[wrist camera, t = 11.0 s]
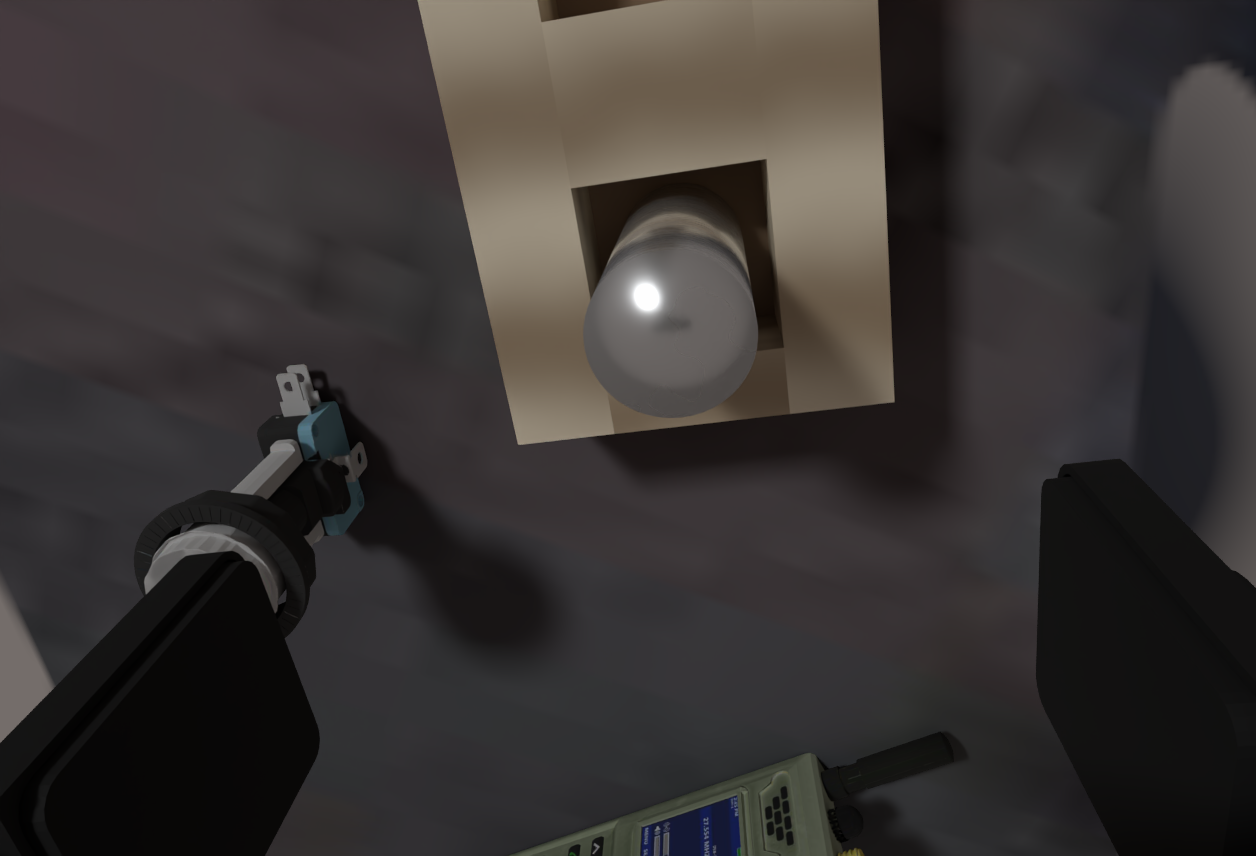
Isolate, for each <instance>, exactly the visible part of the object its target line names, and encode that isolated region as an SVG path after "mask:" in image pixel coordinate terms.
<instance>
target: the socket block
mask: <svg viewBox="0 0 1256 856" xmlns="http://www.w3.org/2000/svg"><path fill="white" fill-rule="evenodd" d="M418 4H419V9H420V13H421V17H422V22H423V26H424V31H425V35H426V40H427V44H428V48H429V53H430V57H431V62H432V66H433V70H434V75H435V79H436V84H437V88H438V93H439V97H440V101H441V106H442V110H443V115H444V119H445V123H446V128H447V132H448V137H449V141H450V146H451V150H452V154H453V159H454V163H455V168H456V172H457V176H458V181H459V185H460V190H461V194H462V199H463V203H464V207H465V212H466V216H467V221H468V225H469V229H470V234H471V238H472V243H473V247H474V252H475V256H476V260H477V265H478V269H479V274H480V278H481V282H482V287H483V291H484V296H485V300H486V305H487V309H488V313H489V318H490V322H491V327H492V331H493V336H494V340H495V344H496V349H497V353H498V358H499V362H500V366H501V371H502V375H503V380H504V384H505V389H506V393H507V397H508V402H509V406H510V411H511V415H512V419H513V424H514V428H515V433H516V437H517V442H518V445H522V444H531V443H539V442H548V441H557V440H566V439H575V438H583V437H592V436H601V435H610V434H618V433H627V432H636V431H645V430H654V429H662V428H671V427H680V426H689V425H698V424H706V423H715V422H724V421H733V420H742V419H750V418H759V417H768V416H777V415H786V414H794V413H803V412H812V411H821V410H830V409H838V408H847V407H856V406H865V405H873V404H882V403H891V402H895V401H894V377H893V353H892V329H891V304H890V280H889V256H888V232H887V208H886V184H885V160H884V136H883V112H882V87H881V63H880V39H879V15H878V0H418ZM677 183H690V184H695V185H699V186H702V187H705V188H708V189H710V190H712V191H713V192H715V193H716V194H718V195H719V196H721V197H722V198H723V199H724V200H725V201H726V202H727V203H728V204H729V205H730V207H731V208H732V210H733V211H734V213H735V214H736V217H737V219H738V221H739V224H740V227H741V231H742V237H743V243H744V249H745V254H746V260H747V266H748V272H749V278H750V284H751V290H752V295H753V301H754V307H755V313H756V319H757V325H758V344H757V351H756V355H755V359H754V362H753V364H752V367H751V369H750V371H749V373H748V375H747V377H746V378H745V380H744V381H743V382H742V384H741V385H740V386H739V388H738V389H737V390H736V391H735V392H734V393H733V394H732V395H731V396H730V397H728V398H727V399H726V400H725V401H723V402H722V403H720V404H719V405H717V406H715V407H714V408H712V409H710V410H707V411H705V412H703V413H699V414H696V415H693V416H688V417H682V418H661V417H655V416H650V415H646V414H643V413H640V412H637V411H635V410H633V409H631V408H629V407H627V406H625V405H624V404H622V403H620V402H619V401H618V400H616V399H615V398H614V397H613V396H611V395H610V394H609V393H608V392H607V391H606V390H605V389H604V388H603V386H602V385H601V384H600V382H599V381H598V380H597V378H596V376H595V375H594V373H593V371H592V369H591V367H590V365H589V362H588V360H587V356H586V352H585V348H584V340H583V326H584V320H585V315H586V311H587V308H588V305H589V303H590V300H591V298H592V296H593V294H594V292H595V289H596V287H597V285H598V283H599V281H600V278H601V276H602V274H603V272H604V270H605V267H606V265H607V263H608V261H609V259H610V256H611V254H612V252H613V250H614V247H615V245H616V243H617V241H618V239H619V236H620V234H621V232H622V230H623V228H624V225H625V223H626V221H627V219H628V217H629V215H630V213H631V211H632V210H633V208H634V207H635V206H636V205H637V203H638V202H639V201H640V200H641V199H642V198H644V197H645V196H646V195H647V194H649V193H650V192H652V191H654V190H656V189H658V188H660V187H663V186H666V185H670V184H677Z"/></svg>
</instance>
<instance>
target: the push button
mask: <svg viewBox="0 0 1256 856" xmlns="http://www.w3.org/2000/svg"><path fill="white" fill-rule="evenodd" d="M287 372H288V373H285V374H278V375H277V376H276V379H277V382H278V385H279V389H280V392H281V396H282V399H283V402H280V405H281V409H282V412H283V414H282V415H276V416H272V417H271V418H269V419H268V420H267V421H266V422H265V423H264V424H263V425H262V426H261V427H259V429H258V432H257V437H258V440H259V444H260V447H261V450H262V453H263V456H264V460H263V461H262V462H261V463H260V464H259V465H258V466H257V467H256V468H255V469H254V470H253V471H252V472H251V473H250V474H249V475H248V476H247V477H246V478H245V479H244V480H242V481H241V482H240V483H239V484H238V485H237V486H236V487H235V488H234V489H233V490H232V491H231V492H224V491H216V490H209V491H206V492H204V493H202V494H199V495H197V496H195V497H192V498H190V499H188V500H186V501H185V502H182V503H179V504H176V505H174V506H172V507H170V508H168V509H166V510H164V511H163V512H162V513H160V514H159V515H158V516H157V517H156V518H155V519H153V520H152V521H151V522H150V523H149V524H148V525H147V526H146V528H145V529H144V530H143V532H142V533H141V535H140V537H139V539H138V542H137V545H136V548H135V555H134V567H135V574H136V578H137V581H138V584H139V587H140V589H141V591H142V593H143V595H144V596H145V595H146V594H147V593H148V592H149V591H150V590H151V589H152V588H153V587H154V586H155V585H156V584H157V583H158V582H159V581H160V580H161V579H162V578H163V577H164V576H165V575H166V574H167V573H168V572H169V571H170V570H171V569H172V568H173V567H174V566H175V565H176V564H177V563H178V562H179V561H180V560H181V559H182V558H184V557H185V556H188V555H195V554H204V553H214V552H224V551H235V552H237V553H239V554H240V555H241V556H242V557H243V558H244V560H245V561H250V562H252V563H253V564H254V565H255V566H256V567H257V569H258V571H259V573H260V575H261V578H262V581H263V583H264V586H265V589H266V591H267V594H268V597H269V599H270V602H271V604H272V607H273V610H274V612H275V615H276V618H277V620H278V623H279V625H280V628H281V631H282V633H283V636H284V638H285V637H287V636H288V635H289V634H290V633H291V632H292V631H293V630H294V628H295V627H296V626H297V624H298V623H299V621H300V620H301V618H302V617H303V615H304V613H305V611H306V608H307V605H308V601H309V595H310V586H311V585H312V583H313V582H314V580H315V579H316V567H315V554H314V551H313V549H312V548H311V546H312V544H313V543H314V542H318V541H320V539H321V538H322V537H323V536H331V535H342V534H344V533H345V531H346V530H347V529H348V527H349V526H350V524H351V523H352V522H353V520H354V519H355V517H356V516H357V515H358V513H359V512H360V511H361V510H362V509H363V507H364V496H363V492H362V490H361V488H360V484H359V480H358V477H359V476H360V475H361V473H362V472H363V471H364V470H365V468H366V467H367V458H366V454H365V450H364V446H363V443H361V442H358V443H357V444H356V445H355V447H354V448H353V449H352V450H351V451H350V447H349V443H348V440H347V436H346V432H345V429H344V425H343V421H342V418H341V414H340V410H339V407H338V404H337V403H336V402H335V401H332V402H321V400H320V397H319V393H318V390H317V391H314V389H313V385H312V382H311V378H310V375H309V371H308V368H307V366H306V365H305V364H302V365H291V366H288V367H287ZM296 373H301V374H302V375H304V377H305V380H304V382H299V379H298V376H297V374H296ZM285 382H291V386H292V389H293V391H288V390H287V389H286V388H285ZM358 453H360V455H361V463H360V464H359V462H358ZM190 523H194V524H193V525H192V526H191V527H190V528H189V529H187V530H186V531H185V532H184V533H183V534H180V530H181V527H182V526H183V525H185V524H190ZM285 590H287V596H286V602H284V603H282V604H280V605H278V599H279V598H280V596H281V595H282V594H283V592H284V591H285Z"/></svg>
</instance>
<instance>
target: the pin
mask: <svg viewBox="0 0 1256 856" xmlns="http://www.w3.org/2000/svg"><path fill="white" fill-rule="evenodd" d="M583 340H584V348H585V352H586V356H587V360H588V362H589V365H590V367H591V369H592V371H593V373H594V375H595V376H596V378H597V380H598V381H599V382H600V384H601V385H602V386H603V388H604V389H605V390H606V391H607V392H608V393H609V394H610V395H611V396H613V397H614V398H615V399H616V400H618V401H619V402H620V403H622V404H624V405H625V406H627V407H629V408H631V409H633V410H635V411H637V412H640V413H643V414H646V415H650V416H655V417H661V418H682V417H688V416H693V415H696V414H699V413H703V412H705V411H707V410H710V409H712V408H714V407H715V406H717V405H719V404H720V403H722V402H723V401H725V400H726V399H727V398H728V397H730V396H731V395H732V394H733V393H734V392H735V391H736V390H737V389H738V388H739V386H740V385H741V384H742V382H743V381H744V380H745V378H746V377H747V375H748V373H749V371H750V369H751V367H752V364H753V362H754V359H755V355H756V351H757V344H758V325H757V319H756V313H755V307H754V301H753V295H752V290H751V284H750V278H749V272H748V266H747V260H746V254H745V249H744V243H743V237H742V231H741V227H740V224H739V221H738V219H737V217H736V214H735V213H734V211H733V210H732V208H731V207H730V205H729V204H728V203H727V202H726V201H725V200H724V199H723V198H722V197H721V196H719V195H718V194H716V193H715V192H713V191H712V190H710V189H708V188H705V187H702V186H699V185H695V184H690V183H677V184H670V185H666V186H663V187H660V188H658V189H656V190H654V191H652V192H650V193H649V194H647V195H646V196H645V197H644V198H642V199H641V200H640V201H639V202H638V203H637V205H636V206H635V207H634V208H633V210H632V211H631V213H630V215H629V217H628V219H627V221H626V223H625V225H624V228H623V230H622V232H621V234H620V236H619V239H618V241H617V243H616V245H615V247H614V250H613V252H612V254H611V256H610V259H609V261H608V263H607V265H606V267H605V270H604V272H603V274H602V276H601V278H600V281H599V283H598V285H597V287H596V289H595V292H594V294H593V296H592V298H591V300H590V303H589V305H588V308H587V311H586V315H585V320H584V326H583Z"/></svg>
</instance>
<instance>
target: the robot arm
mask: <svg viewBox="0 0 1256 856" xmlns="http://www.w3.org/2000/svg"><path fill="white" fill-rule="evenodd" d="M1036 680H1037V687H1038V692H1039V696H1040V699H1041V702H1042V705H1043V707H1044V710H1045V712H1046V714H1047V715H1048V717H1049V719H1050V721H1051V723H1052V725H1053V727H1054V729H1055V731H1056V733H1057V735H1058V737H1059V739H1060V741H1061V743H1062V745H1063V747H1064V749H1065V751H1066V753H1067V755H1068V757H1069V759H1070V761H1071V763H1072V765H1073V767H1074V769H1075V770H1076V772H1077V774H1078V776H1079V778H1080V780H1081V782H1082V784H1083V786H1084V788H1085V790H1086V792H1087V794H1088V796H1089V798H1090V800H1091V802H1092V804H1093V806H1094V808H1095V810H1096V812H1097V814H1098V816H1099V818H1100V820H1101V822H1102V824H1103V826H1104V827H1105V829H1106V831H1107V833H1108V835H1109V837H1110V839H1111V841H1112V843H1113V845H1114V847H1115V849H1116V851H1117V853H1118V855H1119V856H1256V588H1255V587H1254V586H1253V585H1252V584H1251V583H1250V582H1249V581H1248V580H1247V579H1246V578H1245V577H1243V576H1242V575H1240V574H1239V573H1238V572H1236V571H1233V570H1231V569H1230V568H1229V567H1228V566H1227V565H1226V564H1225V563H1224V562H1223V561H1222V560H1221V559H1220V558H1219V557H1218V556H1217V555H1216V554H1215V553H1214V552H1213V551H1212V550H1211V549H1210V548H1209V547H1208V546H1207V545H1206V544H1205V543H1204V542H1203V541H1202V540H1201V539H1200V538H1199V537H1198V536H1197V535H1196V534H1195V533H1194V532H1193V531H1192V530H1191V529H1190V528H1189V527H1188V526H1187V525H1186V524H1185V523H1184V522H1183V521H1182V520H1181V519H1180V518H1179V517H1178V516H1177V515H1176V514H1175V513H1174V512H1173V511H1172V509H1171V508H1170V507H1169V506H1167V505H1166V503H1165V502H1163V500H1162V499H1161V498H1160V497H1159V496H1158V495H1157V494H1156V493H1155V492H1154V491H1153V490H1152V489H1151V488H1150V487H1149V486H1148V485H1147V484H1146V483H1145V482H1144V481H1143V480H1142V479H1141V478H1140V477H1139V476H1138V475H1137V474H1136V473H1135V472H1134V471H1133V470H1132V469H1131V468H1130V467H1129V466H1128V465H1127V464H1126V463H1125V462H1124V461H1122V460H1121V459H1112V460H1102V461H1092V462H1083V463H1073V464H1064V465H1063V466H1062V467H1061V468H1060V471H1059V474H1058V478H1054V479H1046V480H1045V481H1044V483H1043V486H1042V493H1041V523H1040V557H1039V590H1038V624H1037V657H1036ZM319 742H320V737H319V729H318V726H317V723H316V720H315V718H314V715H313V712H312V710H311V707H310V704H309V702H308V699H307V697H306V694H305V691H304V689H303V686H302V683H301V681H300V678H299V675H298V673H297V670H296V668H295V665H294V662H293V660H292V657H291V654H290V652H289V649H288V647H287V644H286V641H285V639H284V636H283V633H282V631H281V628H280V625H279V623H278V620H277V618H276V615H275V612H274V610H273V607H272V604H271V602H270V599H269V597H268V594H267V591H266V589H265V586H264V583H263V581H262V578H261V575H260V573H259V571H258V569H257V567H256V566H255V565H254V564H253V563H252V562H250V561H245V560H244V558H243V557H242V556H241V555H240V554H239V553H237V552H235V551H224V552H214V553H204V554H195V555H188V556H185V557H184V558H182V559H181V560H180V561H179V562H178V563H177V564H176V565H175V566H174V567H173V568H172V569H171V570H170V571H169V572H168V573H167V574H166V575H165V576H164V577H163V578H162V579H161V580H160V581H159V582H158V583H157V584H156V585H155V586H154V587H153V588H152V589H151V590H150V591H149V592H148V593H147V594H146V595H145V596H144V597H143V598H142V599H141V600H140V601H139V602H138V603H137V604H136V605H135V606H134V607H133V608H132V609H131V610H130V612H129V613H128V614H127V615H126V616H125V617H124V618H123V619H122V620H121V621H120V622H119V623H118V624H117V625H116V626H115V627H114V628H113V629H112V630H111V631H110V632H109V633H108V634H107V635H106V636H105V637H104V638H103V639H102V640H101V641H100V642H99V643H98V644H97V645H96V646H95V647H94V648H93V649H92V650H91V651H90V652H89V653H88V654H87V655H86V656H85V657H84V658H83V659H82V660H81V661H80V662H79V663H78V664H77V665H76V666H75V667H74V669H73V670H72V671H71V672H70V673H69V674H68V675H67V676H66V677H65V678H64V679H63V680H62V681H61V682H60V683H59V684H58V685H57V686H56V687H55V688H54V689H53V690H52V691H51V692H50V693H49V694H48V695H47V696H46V697H45V698H44V699H43V700H42V701H41V702H40V703H39V704H38V705H37V706H36V707H35V708H34V709H33V710H32V711H31V712H30V713H29V715H27V716H26V718H25V719H24V720H22V721H21V722H20V723H19V725H18V726H17V727H16V728H15V729H14V730H13V731H12V732H11V733H10V734H9V735H8V736H7V737H6V738H5V739H4V740H3V741H2V742H1V743H0V856H265V854H266V853H267V851H268V849H269V847H270V845H271V843H272V841H273V839H274V837H275V835H276V834H277V832H278V830H279V828H280V826H281V824H282V822H283V820H284V818H285V816H286V815H287V813H288V811H289V809H290V807H291V805H292V803H293V801H294V799H295V798H296V796H297V794H298V792H299V790H300V788H301V786H302V784H303V782H304V780H305V779H306V777H307V775H308V773H309V771H310V769H311V767H312V765H313V763H314V761H315V759H316V757H317V754H318V750H319Z"/></svg>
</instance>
